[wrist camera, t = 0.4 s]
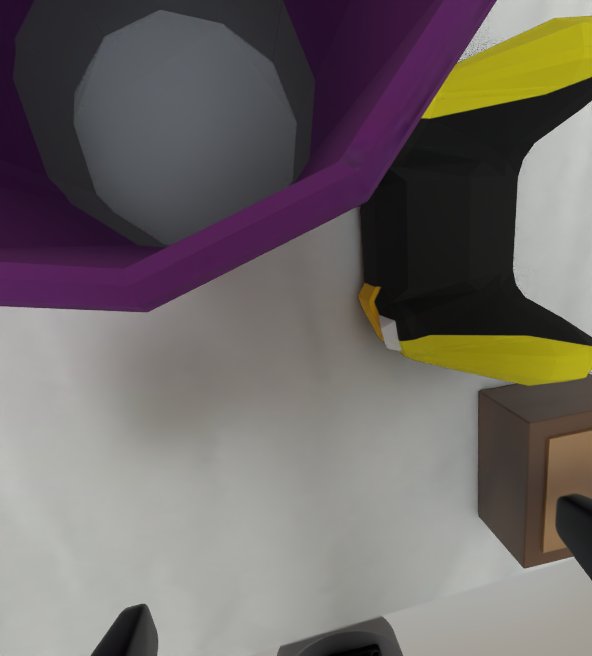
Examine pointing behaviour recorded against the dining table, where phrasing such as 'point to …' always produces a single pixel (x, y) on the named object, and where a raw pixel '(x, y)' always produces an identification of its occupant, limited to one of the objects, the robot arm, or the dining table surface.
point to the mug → (198, 132)
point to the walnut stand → (533, 462)
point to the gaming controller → (475, 215)
